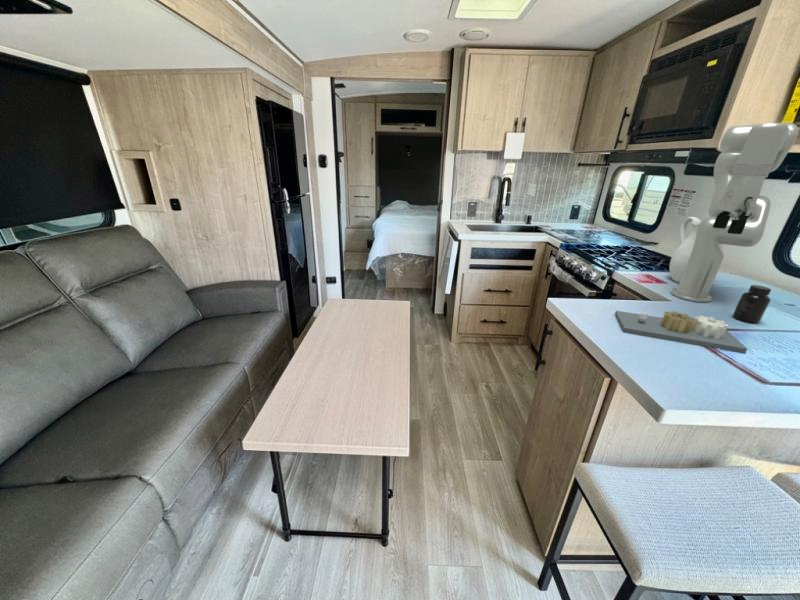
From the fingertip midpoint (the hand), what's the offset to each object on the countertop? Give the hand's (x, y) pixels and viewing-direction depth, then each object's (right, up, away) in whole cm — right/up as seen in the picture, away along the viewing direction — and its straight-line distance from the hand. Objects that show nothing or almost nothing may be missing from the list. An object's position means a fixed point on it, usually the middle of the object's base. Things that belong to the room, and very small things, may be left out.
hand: (726, 230), depth 102 cm
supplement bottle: (+19, -29, +12) cm, 36 cm away
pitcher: (+30, -12, +50) cm, 60 cm away
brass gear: (-15, -30, +2) cm, 34 cm away
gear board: (-15, -32, +2) cm, 35 cm away
